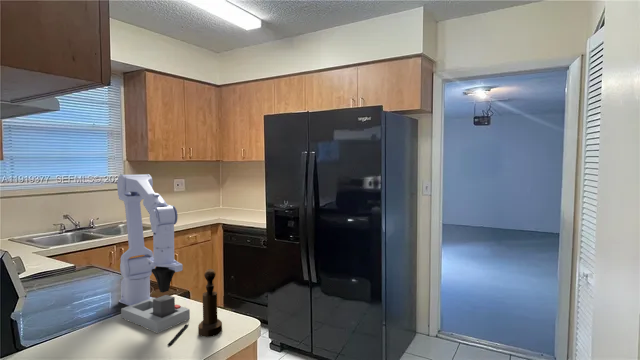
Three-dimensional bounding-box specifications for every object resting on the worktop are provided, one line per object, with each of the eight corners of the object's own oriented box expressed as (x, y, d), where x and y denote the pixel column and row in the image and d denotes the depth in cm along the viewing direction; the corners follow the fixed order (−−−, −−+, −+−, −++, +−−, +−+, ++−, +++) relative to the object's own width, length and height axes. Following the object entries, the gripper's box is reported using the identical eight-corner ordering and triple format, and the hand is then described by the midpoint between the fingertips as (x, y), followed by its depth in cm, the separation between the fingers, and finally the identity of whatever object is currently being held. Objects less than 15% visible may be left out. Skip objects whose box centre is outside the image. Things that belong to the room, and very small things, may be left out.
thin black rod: (185, 326, 106) (185, 322, 106) (189, 326, 106) (189, 322, 106) (167, 347, 94) (167, 343, 94) (171, 347, 94) (171, 343, 94)
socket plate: (121, 318, 110) (121, 307, 110) (153, 306, 119) (153, 295, 119) (157, 332, 101) (157, 320, 101) (189, 318, 110) (189, 307, 110)
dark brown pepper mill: (197, 328, 104) (197, 267, 103) (220, 325, 106) (220, 265, 105) (199, 339, 97) (198, 274, 97) (223, 334, 100) (223, 271, 99)
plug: (153, 322, 107) (152, 299, 106) (166, 316, 111) (166, 294, 110) (161, 325, 105) (161, 302, 104) (174, 319, 109) (174, 297, 108)
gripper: (136, 246, 107) (137, 290, 108) (167, 252, 100) (167, 300, 100) (158, 241, 113) (158, 284, 114) (188, 247, 106) (188, 292, 106)
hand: (164, 291), depth 107 cm, fingers closed
